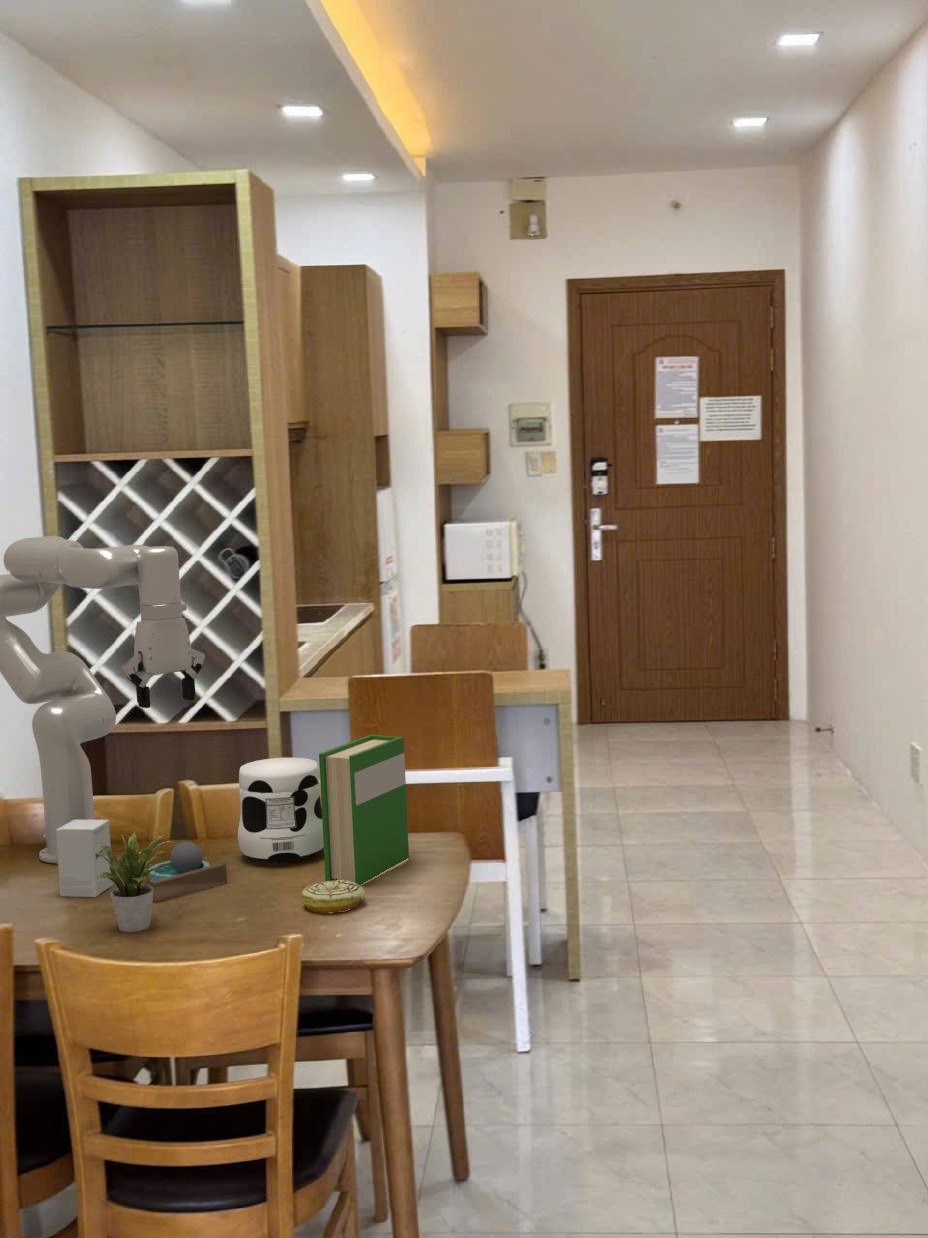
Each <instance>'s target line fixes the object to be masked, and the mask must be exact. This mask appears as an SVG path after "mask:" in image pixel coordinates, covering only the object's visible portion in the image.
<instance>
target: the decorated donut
mask: <svg viewBox="0 0 928 1238" xmlns="http://www.w3.org/2000/svg"><path fill="white" fill-rule="evenodd" d="M365 898H366V892H365V890H364V888H363V886H360V885H358V884H357V883H355V882H354V881H348V880H338V879H337V880H333V881H321V882H316V883H313V884H311V885H308V886H306V887H304V888H303V890H302V892H301V901H302V904H303V905H304V906H305V907H306V909H308V910H309V909H310V910H309V911H311V912H313V911H314V913H316V912H320V913H319V914H328V913H329V912H337V913H340V912H339V911H345V910H348V909H352V908H353V909H354V907H355V906H356V907H357V906H358V905H359V904H361V902H363V901H364V900H365ZM356 907H355V908H356ZM353 909H352V910H353ZM348 911H349V910H348ZM345 912H346V911H345Z"/></svg>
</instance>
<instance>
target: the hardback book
mask: <svg viewBox="0 0 928 1238" xmlns="http://www.w3.org/2000/svg"><path fill="white" fill-rule="evenodd" d="M405 756H406V755H405V738H404V736H392V735H378V734H377V735H376V734H369V735H366V736H363V737H361V738H358V739H356V740H352V741H350V742H347V743H344V744H341V745H338V746H337V747H333V748H330V749H328V750H325V751H323V752H320V753H318V762H319V764H318V766H319V783H320V801H321V808H322V823H323V842H324V848H323V857H324V861H323V862H324V876H325V878H324V879H325V881H333V880H335V879H337V880H348V881H352V882H355V883H357V884H358V885H361V884H363V883H364V882H366V881H368V880H370V879H372V878H373V877H375V876H377V875H379V874H380V873H382V872H384V871H385V870H387V869H389V868H391V867H393V866H395V865H396V864H398V863H400V862H402V861H404V860H406V859H407V858H409V859H410V853H409V852H410V849H409V848H410V847H409V828H408V805H407V803H408V802H407V783H406V782H407V781H406V764H405V761H406V759H405Z"/></svg>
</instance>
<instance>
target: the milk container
mask: <svg viewBox="0 0 928 1238" xmlns="http://www.w3.org/2000/svg"><path fill="white" fill-rule="evenodd" d="M238 785H239V801H240V813H239V814H240V815H239V820H238V824H237V825H238V826H237V833H236V835H237V842H238V847H239V850H240V852H241V853H242V855H243V856H245V858H247V859H249V860H253V861H254V862H255V861H256V862H260V863H270V864H271V863H278V864H279V863H288V862H289V863H291V862H296V861H300V860H305V859H307V858H311V857H313V856H317V854H319V853H320V852H322V851H323V850H324V842H323V823H322V804H321V785H320V767H319V764H318V762H317V761H315V760H314V759H309V758H305V757H275V758H274V757H273V758H265V759H260V760H254V761H250V762H247V763H245V764H243V765H241V766H240V768H239V772H238Z"/></svg>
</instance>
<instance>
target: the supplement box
mask: <svg viewBox="0 0 928 1238" xmlns="http://www.w3.org/2000/svg"><path fill="white" fill-rule="evenodd" d="M110 828H111V827H110V820H109V819H94V820H72V821H71V822H69V823H67V824H65V825H64V826H62V827H60V828H58V829H56V839H57V853H58V863H57V866H58V880H59V883H58V884H59V894H60V897H73V898H97V897H98V896H99V895H100V894H102V893H103V892H104V891H106V890H107V889H109V888H111V887H112V886H114V882H113V881H112V880H110V879H109V878H100V879H98V878H99V877H100V876H101V875H102V874H101V873H103V872H109V873H111V871H110V865H109V862H108V861H107V860H106V859H105V858H104V857H106V858H107V859H108V860H109V858H108V856H107V855H106V853H105V852H104V851H103V850H102V848H101V847H100V846H98V845H97V844H96V843H100V844H101V845H103V846H104V847H106V848H107V849H109V850H110V851H111V852H112V846H111V832H110V831H111V829H110ZM93 841H94V842H93ZM95 842H96V843H95ZM98 853H99V854H102V855H103V856H104V857H102V856H101V855H99V854H98ZM109 861H110V860H109ZM110 862H111V861H110ZM111 874H112V873H111Z"/></svg>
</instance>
